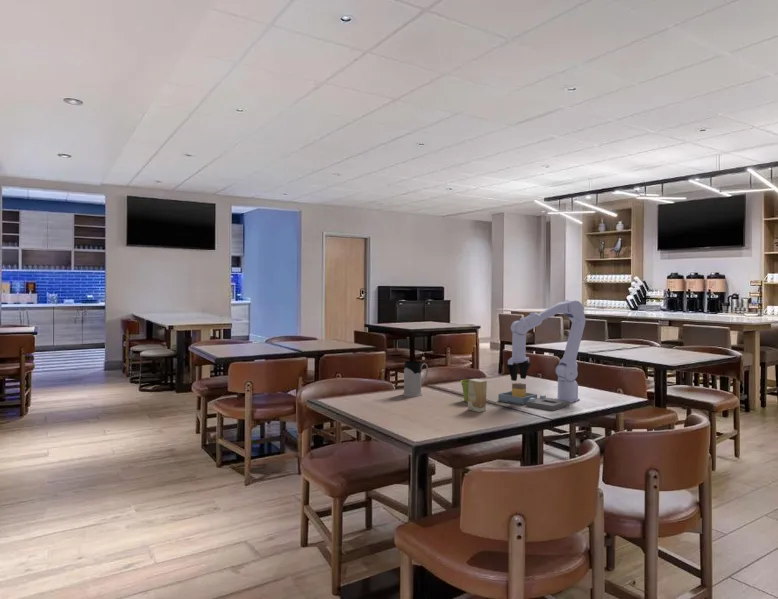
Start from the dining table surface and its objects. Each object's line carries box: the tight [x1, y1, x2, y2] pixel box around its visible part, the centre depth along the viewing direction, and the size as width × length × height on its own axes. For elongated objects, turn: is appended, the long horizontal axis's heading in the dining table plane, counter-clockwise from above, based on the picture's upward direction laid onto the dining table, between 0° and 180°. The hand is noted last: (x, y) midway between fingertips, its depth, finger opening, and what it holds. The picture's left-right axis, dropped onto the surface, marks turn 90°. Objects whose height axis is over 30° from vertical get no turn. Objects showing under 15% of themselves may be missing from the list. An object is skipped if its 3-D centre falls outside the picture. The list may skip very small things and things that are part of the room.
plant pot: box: [460, 379, 470, 403], centre depth 237 cm, size 9×9×9 cm
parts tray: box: [497, 390, 538, 406], centre depth 238 cm, size 12×12×3 cm
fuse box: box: [525, 394, 570, 412], centre depth 228 cm, size 14×12×3 cm
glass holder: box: [402, 360, 429, 398], centre depth 252 cm, size 9×14×15 cm, turn 132°
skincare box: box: [467, 378, 488, 413], centre depth 219 cm, size 6×4×12 cm
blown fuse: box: [511, 382, 527, 398], centre depth 238 cm, size 3×5×7 cm, turn 46°
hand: (518, 379), depth 238 cm, fingers open, 7 cm apart
